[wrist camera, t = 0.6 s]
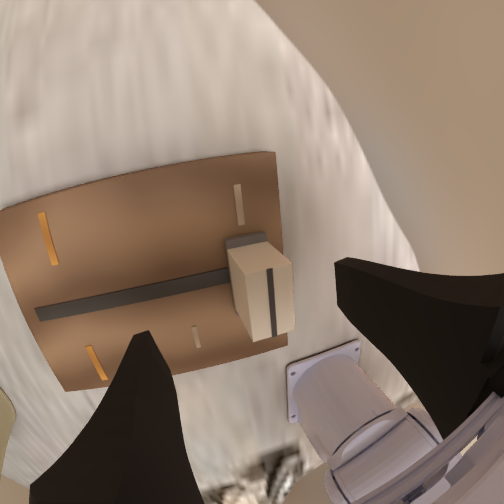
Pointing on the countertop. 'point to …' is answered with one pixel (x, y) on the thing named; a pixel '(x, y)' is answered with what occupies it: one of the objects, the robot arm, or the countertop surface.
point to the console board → (140, 265)
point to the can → (5, 424)
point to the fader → (260, 285)
